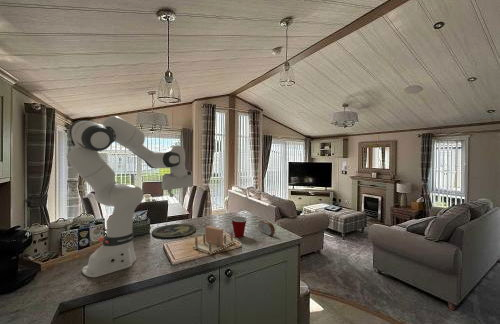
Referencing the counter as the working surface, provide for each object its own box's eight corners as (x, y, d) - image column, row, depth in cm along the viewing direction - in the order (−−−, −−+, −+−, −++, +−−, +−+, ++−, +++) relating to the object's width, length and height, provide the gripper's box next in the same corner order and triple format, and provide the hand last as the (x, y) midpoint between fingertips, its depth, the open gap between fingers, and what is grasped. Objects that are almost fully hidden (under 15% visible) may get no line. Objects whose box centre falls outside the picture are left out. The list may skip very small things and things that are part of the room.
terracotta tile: (220, 246, 130) (220, 230, 130) (205, 241, 137) (205, 226, 137) (223, 244, 132) (223, 229, 132) (208, 240, 139) (208, 225, 139)
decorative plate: (143, 237, 146) (162, 223, 176) (143, 239, 146) (162, 225, 176) (189, 237, 146) (200, 223, 176) (189, 240, 146) (200, 226, 176)
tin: (275, 236, 149) (275, 223, 149) (271, 237, 147) (271, 224, 147) (261, 230, 162) (261, 218, 162) (257, 231, 160) (257, 219, 160)
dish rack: (211, 254, 122) (211, 242, 122) (192, 248, 131) (192, 237, 130) (235, 243, 138) (235, 232, 138) (217, 238, 147) (217, 228, 147)
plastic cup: (242, 240, 143) (241, 221, 143) (227, 237, 148) (227, 219, 148) (250, 235, 152) (250, 217, 152) (237, 232, 158) (236, 215, 157)
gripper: (165, 174, 127) (166, 198, 127) (194, 172, 143) (194, 194, 144) (159, 173, 130) (159, 197, 131) (187, 171, 147) (188, 193, 147)
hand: (178, 195), depth 137 cm, fingers open, 8 cm apart
